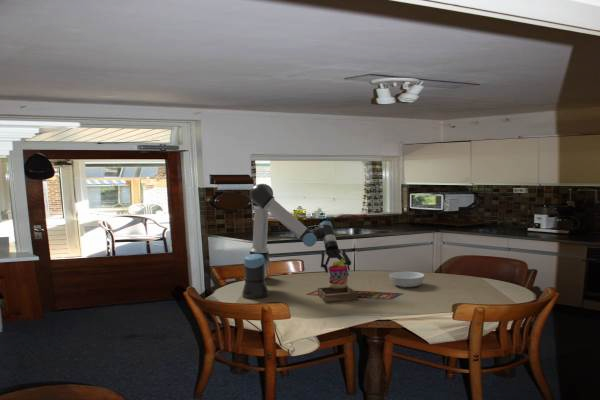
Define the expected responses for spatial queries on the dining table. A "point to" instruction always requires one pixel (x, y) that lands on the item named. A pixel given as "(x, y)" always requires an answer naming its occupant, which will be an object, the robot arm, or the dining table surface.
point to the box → (337, 294)
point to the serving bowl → (407, 278)
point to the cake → (338, 274)
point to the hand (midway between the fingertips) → (339, 276)
